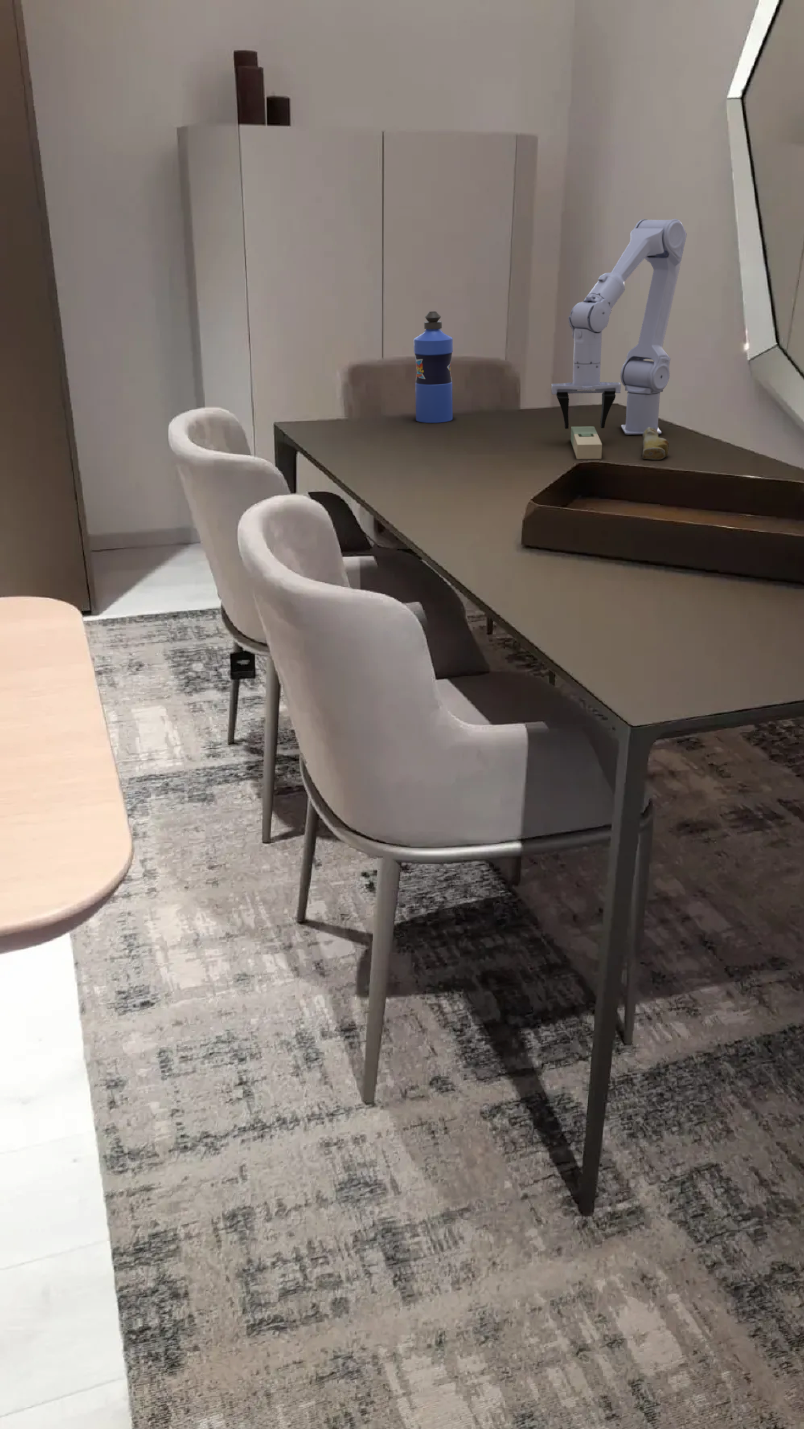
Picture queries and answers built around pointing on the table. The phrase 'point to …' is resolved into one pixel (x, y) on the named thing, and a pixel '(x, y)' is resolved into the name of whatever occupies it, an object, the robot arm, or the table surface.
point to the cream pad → (587, 447)
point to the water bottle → (433, 372)
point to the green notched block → (582, 432)
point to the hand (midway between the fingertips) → (584, 427)
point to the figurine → (654, 445)
